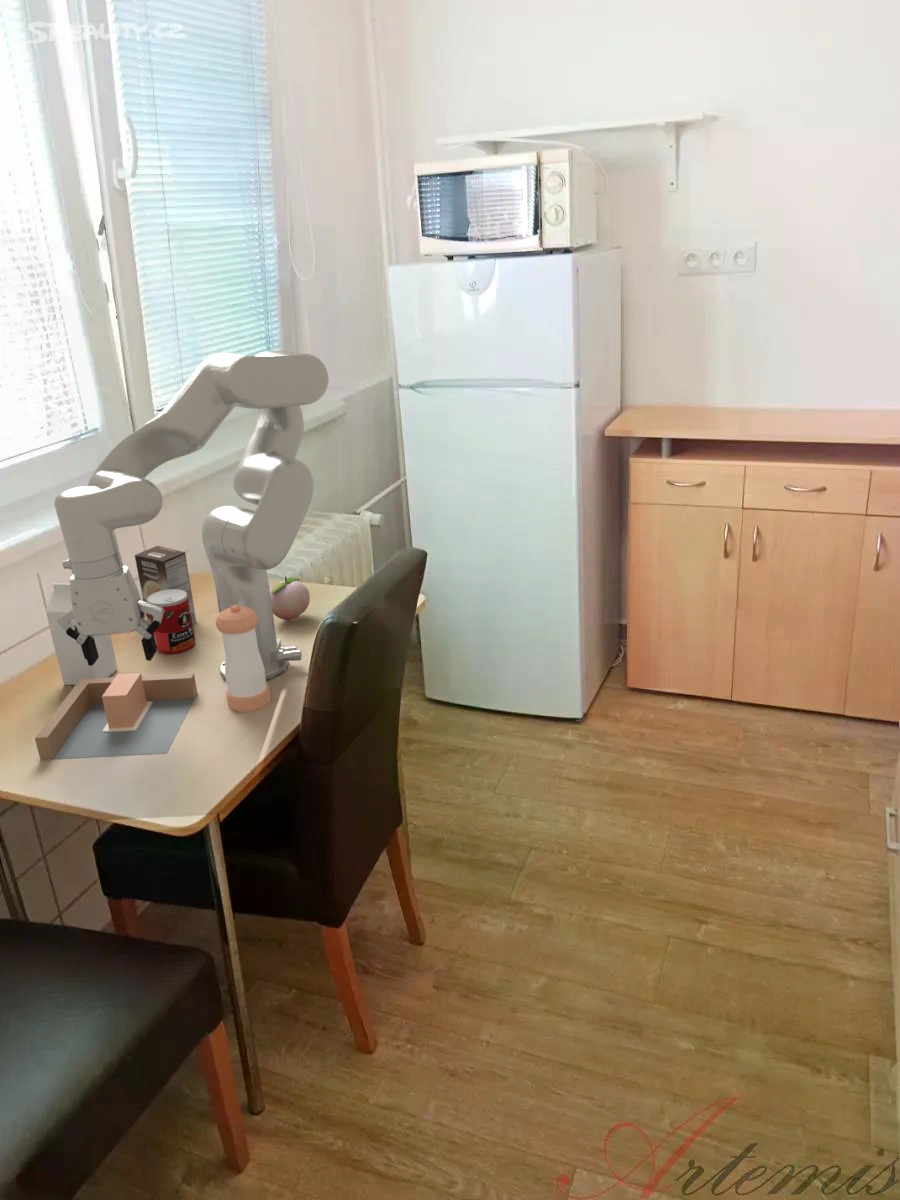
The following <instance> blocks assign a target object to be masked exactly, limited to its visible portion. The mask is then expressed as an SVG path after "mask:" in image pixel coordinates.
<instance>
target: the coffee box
mask: <svg viewBox="0 0 900 1200" xmlns="http://www.w3.org/2000/svg"><path fill="white" fill-rule="evenodd" d="M134 559H135V564H136V570H137V576H138V581H139V584H140V585H139V586H140V591H141V596H142V601H144V602H148V601H147V598H148V597H149V596H150V595H152V594H154V593H156V592H159V591H163V590H170V589H177V590H183V591H185V592H186V593H187V596H188V601H189V606H190V612H191V618H192V624H193V625H194V624H196V623H197V617H196V612H195V604H194V603H195V602H194V599H193V592H192V587H191V586H192V585H191V580H190V579H191V578H190V573H189V567H188V562H187V561H188V560H187V554H186V552H185V551H182V550H176V549H172V548H169V547H168V548H167V547H163V546H159V545H156V546H154V547H151V548H147V549H145V550H143V551H142V552H139V553H136V554H134ZM145 619H146V620H147V621H148V622H149V623H151V619H150V614H148V613H145Z"/></svg>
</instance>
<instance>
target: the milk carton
mask: <svg viewBox="0 0 900 1200" xmlns="http://www.w3.org/2000/svg"><path fill="white" fill-rule="evenodd" d="M52 587H53V592H52V594H51V596H50V600H49V602H48V605H47V609H46V611H45V612H46V616H47V620H48V623H49V628H50V632H51V636H52V641H53V644H54V649H55V654H56V656H57V661H58V665H59V668H60V675H61V678H62V682H63V684H64V685H65V686H66V685H67V686H69V685H70V686H75V685H76V684H77V683H78V682H79V680H80V679H87V678H106V677H111V676H112V674H114V673H115V672H116V671H117V670H118V665H117V660H116V659H117V658H116V655H115V651H114V645H113V641H112V637H111V635H112V634H109V635H97V636H92V637H93V638H94V641H95V644H96V648H97V651H98V655H99V658H98V659H97V661H96V662H95V663H94V665H92V666H89V665H88V662H87V659H85V658H84V655H83V651H82V648H81V645H79V644H77V642H76V640H75V639H73V638H71V637H70V636H68V635H67V634H66V631H65V630H63V628H62V627H61V626H60V625H59V624H58V623H57V621H58V619H59V618H60V617H61V616H63V615H64V614H66V613H67V612H69V611H71V610H72V603H71V595H70V583H52ZM71 623H72V624H73V625H75V626H76V623H75V619H73V620H71Z"/></svg>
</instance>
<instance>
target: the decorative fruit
mask: <svg viewBox="0 0 900 1200" xmlns="http://www.w3.org/2000/svg"><path fill="white" fill-rule="evenodd" d="M270 597H271V604H272V611H273V616H275V617H277V618H279V619H280V620H282V621H283V620H284V621H286V622H287V621H288V622H290V621H289V620H292V619H293V620H295V619H297V618H298V617H300V615H301V616H302V614H303V613H305V612H306V610H307V609H308V608H309V605H310V597H311V596H310V592H309V589H308V587H307V586H306V585H305V584H304V583H302V582H301V579H300V578H299V577H295V576H290V577H288V578H287V576H284V579H283V580H281V581H280V582H278V583H277V584H275V585H273V587H272V588H271V589H270ZM293 620H292V621H293Z"/></svg>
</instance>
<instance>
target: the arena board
mask: <svg viewBox="0 0 900 1200" xmlns="http://www.w3.org/2000/svg"><path fill="white" fill-rule="evenodd" d="M141 676H142V681H143V686H144V691H145V696H146V701H147V705H146V706H145V708H144V710H143V711H142V713H141V715H140V716H139V718H138V720H137V721H136V723H135V725H134V726H133V727H126V728H109V726H108V722H107V717H106V713H105V708H104V704H103V699H102V696H103V694H104V693H105V691H106V690H107V689H108V687H109V686H110V684H111V683H112V681H113V680H114V679H115V677H116V676H109V677H106V678H87V679H80V680H79V682H78V683H77V684H76V685H74V687H73V688H72V689H71V691H70V692H69V693H68V694H67V696H66V697H65V698H64V699H63V701H62V702H61V703H60V705H59V706H58V708H56V710H55V711H54V712H53V714H52V715H51V717H50V718H49V719H48V720H47V721H46V723H45V724H44V725H43V727H42V728H41V729H40V730H39V732H38V733H37V734H36V735H35V736H34V739H35V744H36V748H37V752H38V756H39V760H40V761H48V760H53V761H54V760H66V759H67V760H70V759H88V758H108V757H125V756H144V755H147V756H148V755H164V754H167V753H169V750H170V749H171V747H172V744H173V742H174V741H175V738H176V737H177V734H178V733H179V730H180V729H181V726H182V724H183V723H184V721H185V719H186V717H187V715H188V713H189V711H190V709H191V706H192V705H193V703H194V701H195V699H196V697H197V695H198V690H197V689H198V688H197V682H196V677H195V672H184V673H167V674H166V673H164V674H148V675H146V674H145V675H144V674H143V675H141Z"/></svg>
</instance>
